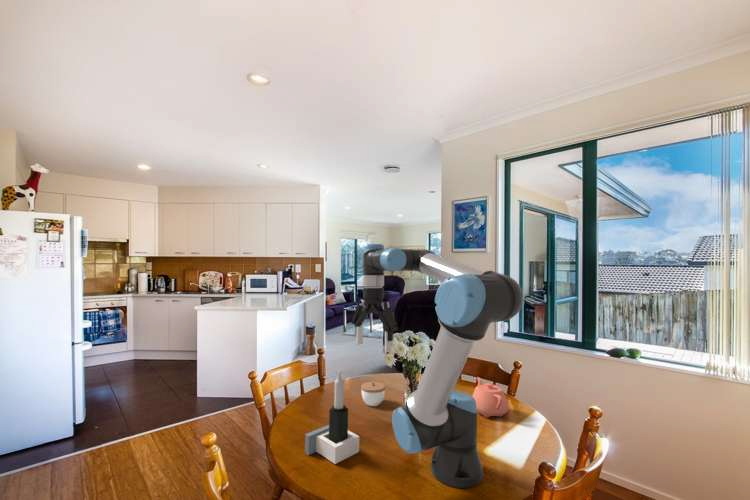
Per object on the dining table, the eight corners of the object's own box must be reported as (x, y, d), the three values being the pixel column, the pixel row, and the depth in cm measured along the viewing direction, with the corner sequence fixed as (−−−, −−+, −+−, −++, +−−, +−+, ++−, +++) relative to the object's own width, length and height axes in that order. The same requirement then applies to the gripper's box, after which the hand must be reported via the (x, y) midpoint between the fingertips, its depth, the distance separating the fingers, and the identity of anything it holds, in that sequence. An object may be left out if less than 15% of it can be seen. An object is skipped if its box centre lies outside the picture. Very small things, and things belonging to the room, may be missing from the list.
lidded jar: (389, 402, 154) (389, 380, 154) (376, 410, 145) (377, 388, 145) (369, 396, 160) (369, 376, 160) (356, 404, 150) (356, 383, 151)
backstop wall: (346, 437, 122) (346, 420, 122) (308, 455, 111) (308, 436, 111) (342, 435, 123) (343, 418, 123) (304, 452, 112) (305, 434, 112)
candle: (339, 454, 109) (340, 375, 110) (327, 449, 112) (328, 372, 113) (349, 447, 113) (350, 371, 114) (337, 442, 116) (338, 368, 117)
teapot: (490, 401, 155) (490, 374, 156) (517, 422, 136) (516, 391, 136) (463, 403, 153) (463, 376, 153) (486, 424, 133) (486, 393, 134)
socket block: (359, 451, 113) (359, 436, 113) (335, 464, 106) (335, 447, 106) (339, 440, 120) (340, 425, 120) (316, 451, 113) (316, 435, 113)
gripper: (408, 288, 117) (408, 351, 116) (356, 285, 134) (355, 340, 133) (394, 289, 111) (394, 355, 110) (342, 286, 128) (341, 343, 127)
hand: (373, 347), depth 121 cm, fingers open, 13 cm apart
